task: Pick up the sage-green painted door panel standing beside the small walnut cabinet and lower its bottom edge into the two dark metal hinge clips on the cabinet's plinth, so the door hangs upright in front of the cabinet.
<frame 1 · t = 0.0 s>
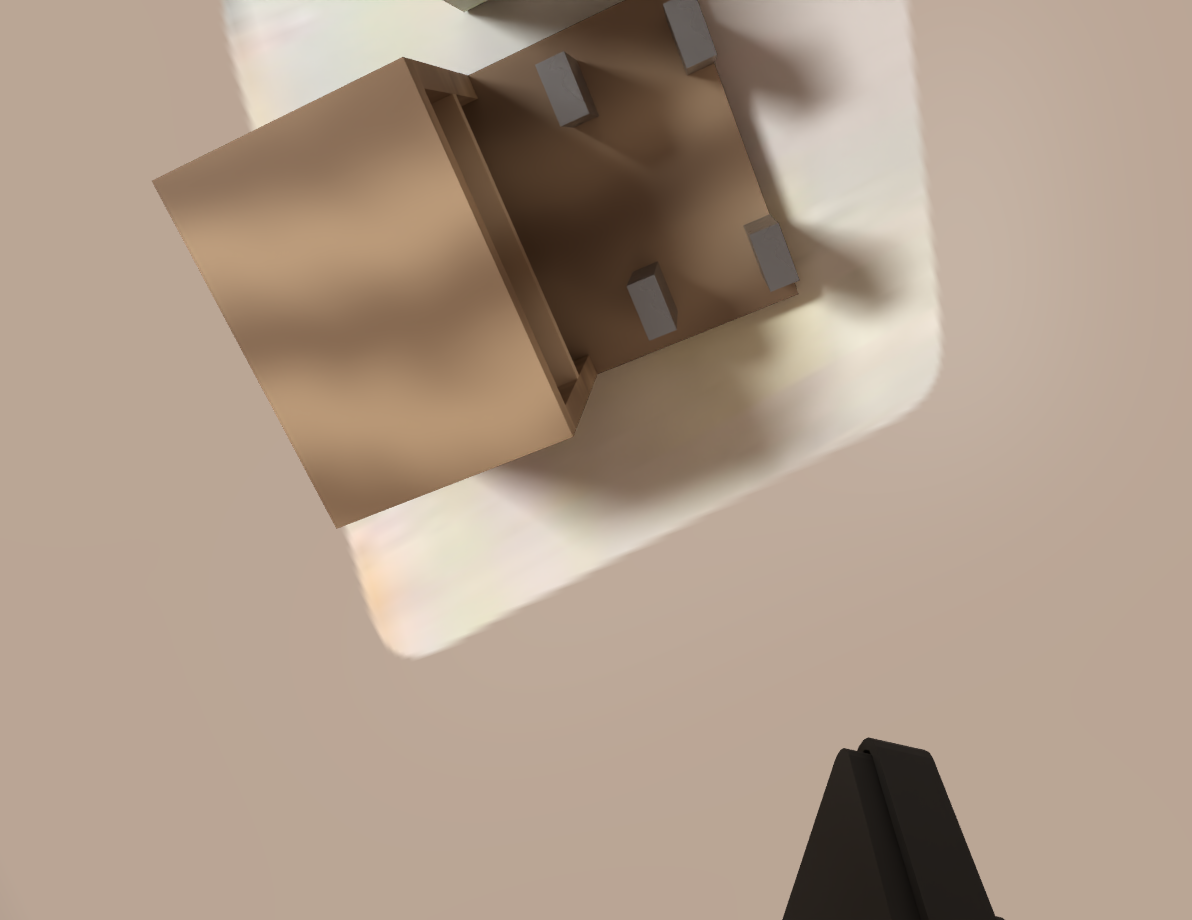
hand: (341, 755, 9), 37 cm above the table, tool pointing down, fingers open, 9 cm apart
cabinet: (538, 229, 44), on the table
hinge clips: (672, 170, 43), resting on cabinet
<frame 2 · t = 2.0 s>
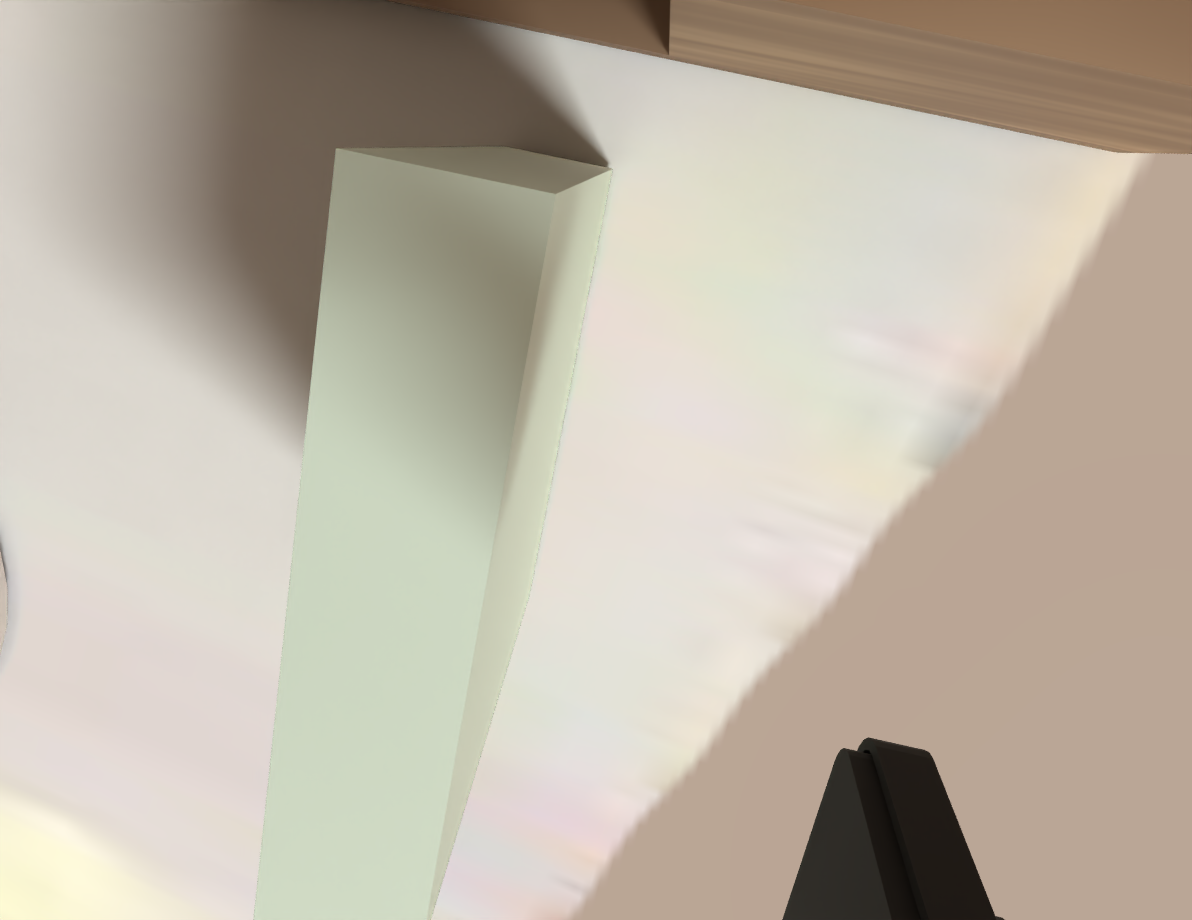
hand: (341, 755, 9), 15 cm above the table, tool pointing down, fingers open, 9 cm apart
door: (518, 387, 24), on the table
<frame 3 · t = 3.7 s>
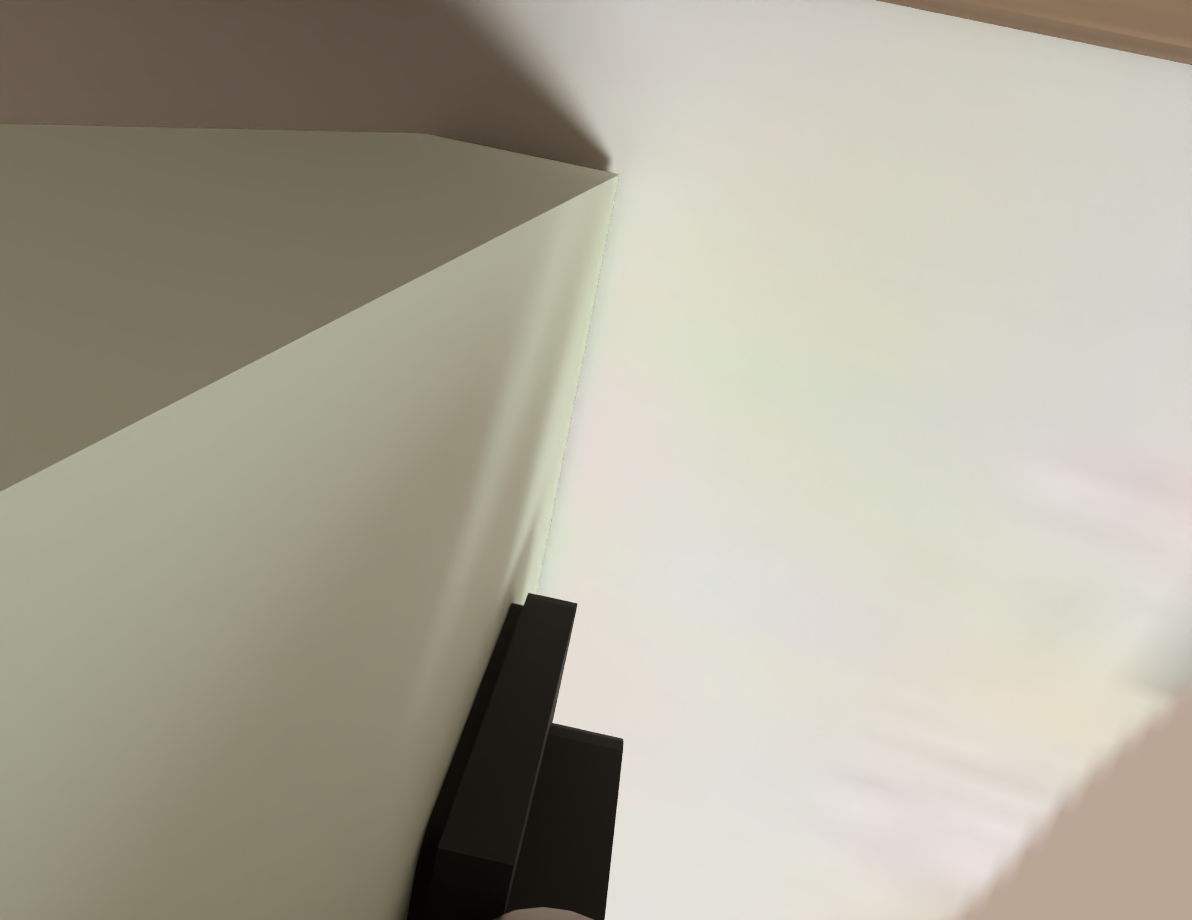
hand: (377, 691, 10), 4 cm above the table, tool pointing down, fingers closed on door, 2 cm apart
door: (456, 550, 14), on the table, touching gripper
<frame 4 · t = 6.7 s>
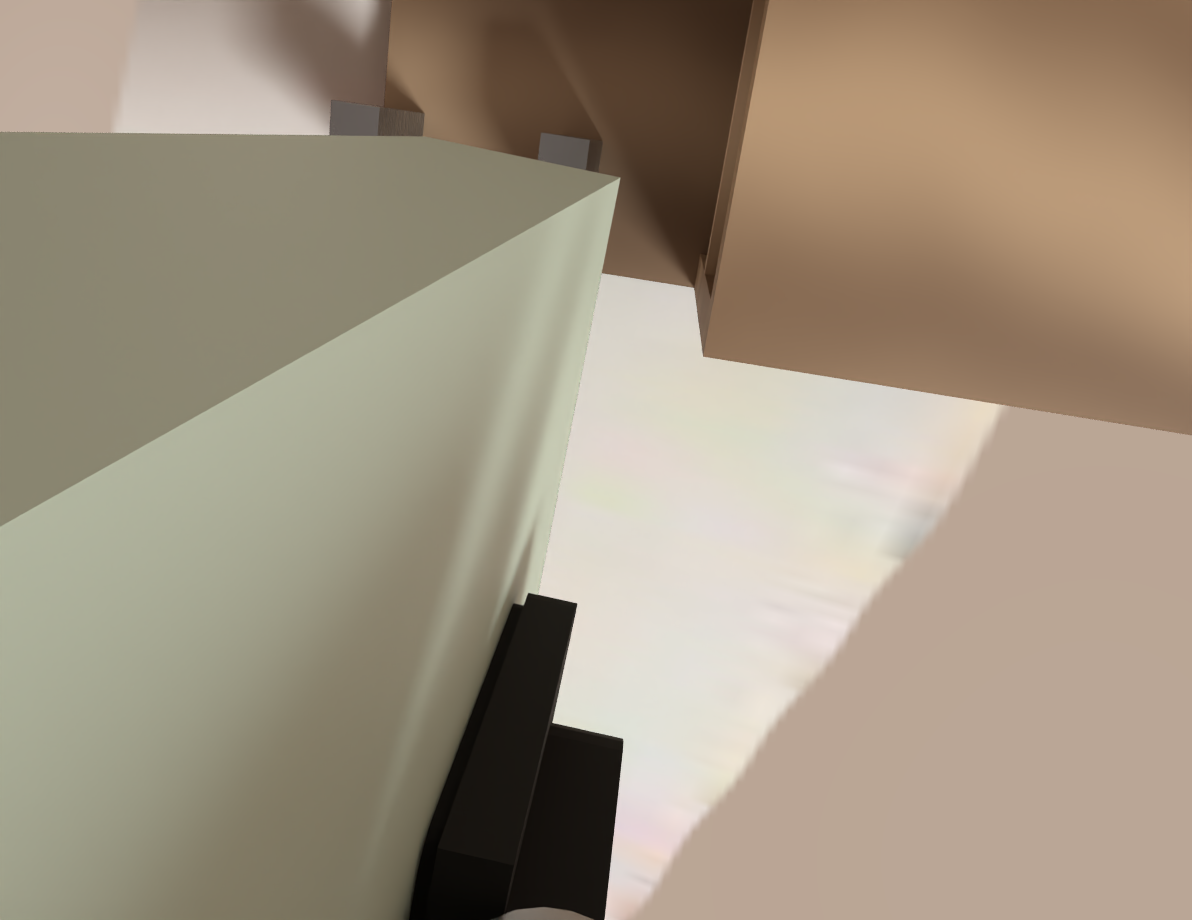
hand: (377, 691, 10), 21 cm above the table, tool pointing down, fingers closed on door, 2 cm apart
cabinet: (737, 38, 28), on the table
door: (457, 551, 14), point 18 cm above the table, touching gripper
hinge clips: (512, 4, 28), resting on cabinet
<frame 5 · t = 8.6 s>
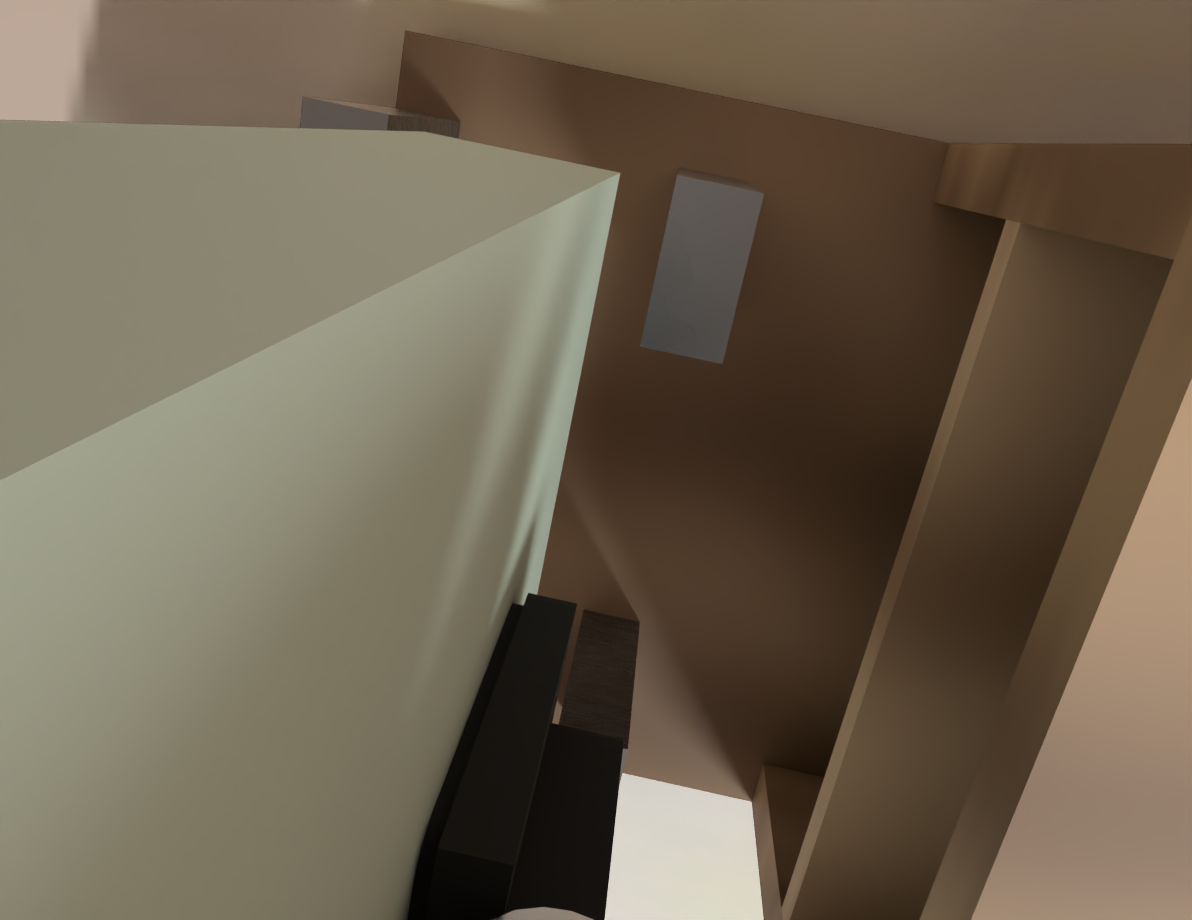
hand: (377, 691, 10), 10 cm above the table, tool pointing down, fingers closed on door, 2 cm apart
cabinet: (831, 493, 20), on the table
door: (457, 548, 14), point 7 cm above the table, touching gripper
hinge clips: (524, 427, 20), resting on cabinet
when the fingers open (5 cm above the table, at t = 10.0 s): door stays where it is, resting on cabinet.
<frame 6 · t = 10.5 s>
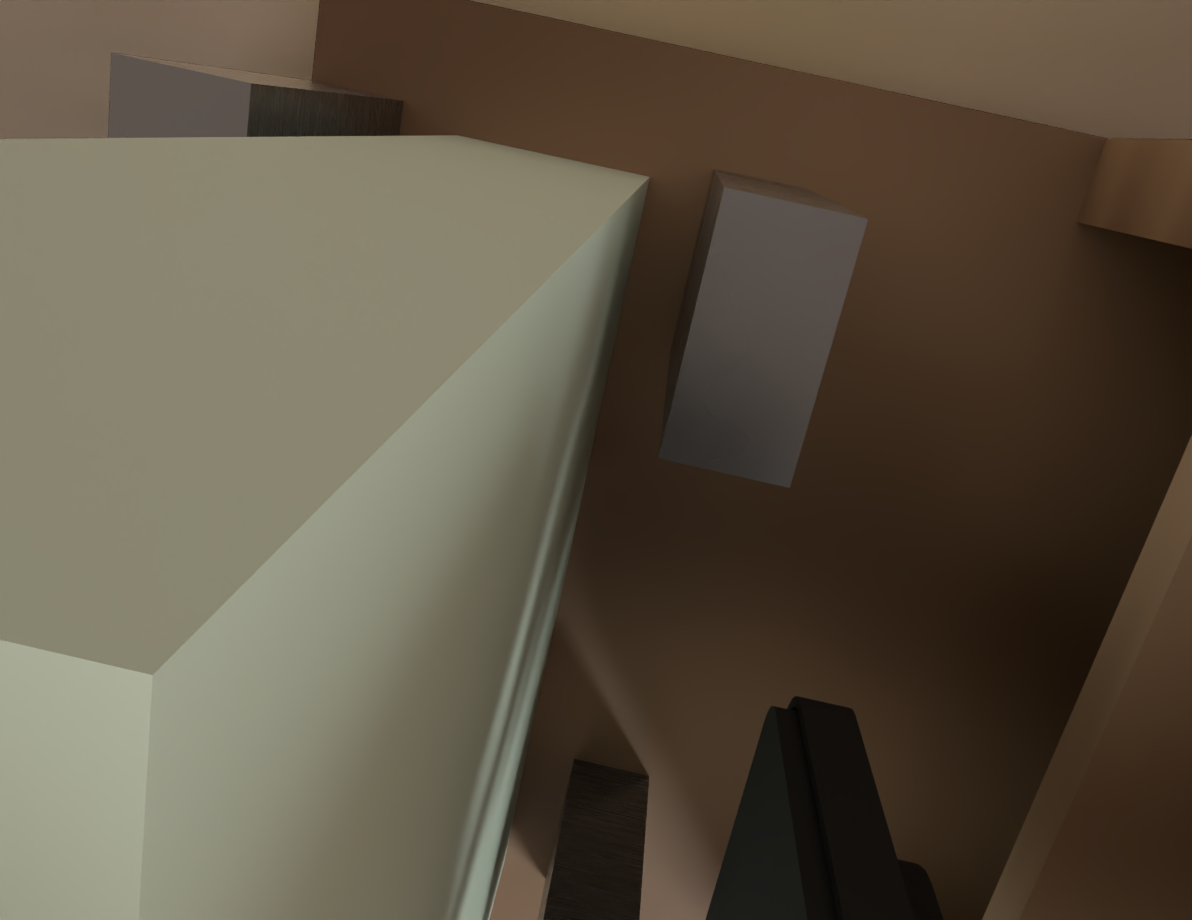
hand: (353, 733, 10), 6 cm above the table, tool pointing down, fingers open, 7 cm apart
cabinet: (909, 609, 15), on the table
door: (483, 544, 14), point 1 cm above the table, touching cabinet
hinge clips: (496, 514, 15), resting on cabinet
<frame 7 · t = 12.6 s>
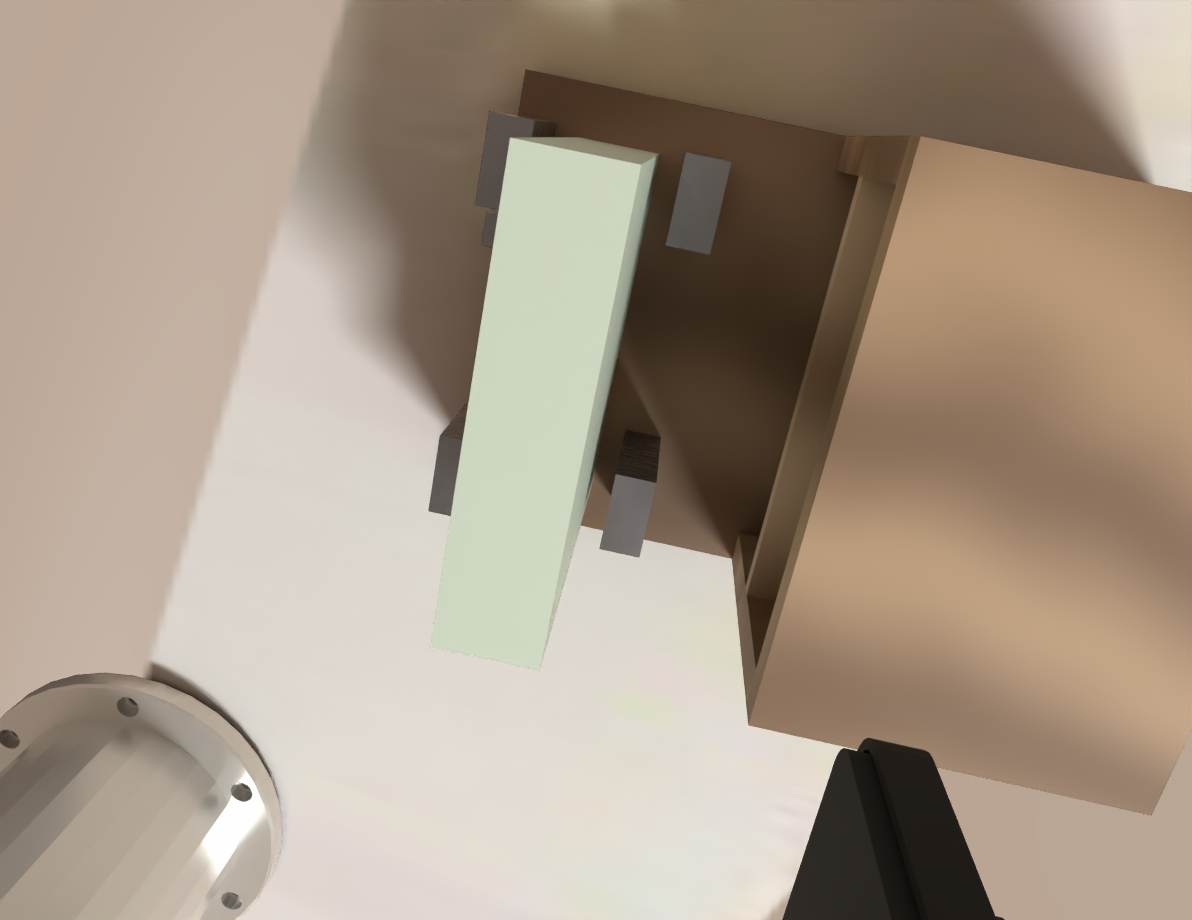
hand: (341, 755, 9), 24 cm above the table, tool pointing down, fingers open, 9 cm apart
cabinet: (781, 356, 32), on the table
door: (585, 322, 31), point 1 cm above the table, touching cabinet
hinge clips: (588, 314, 32), resting on cabinet
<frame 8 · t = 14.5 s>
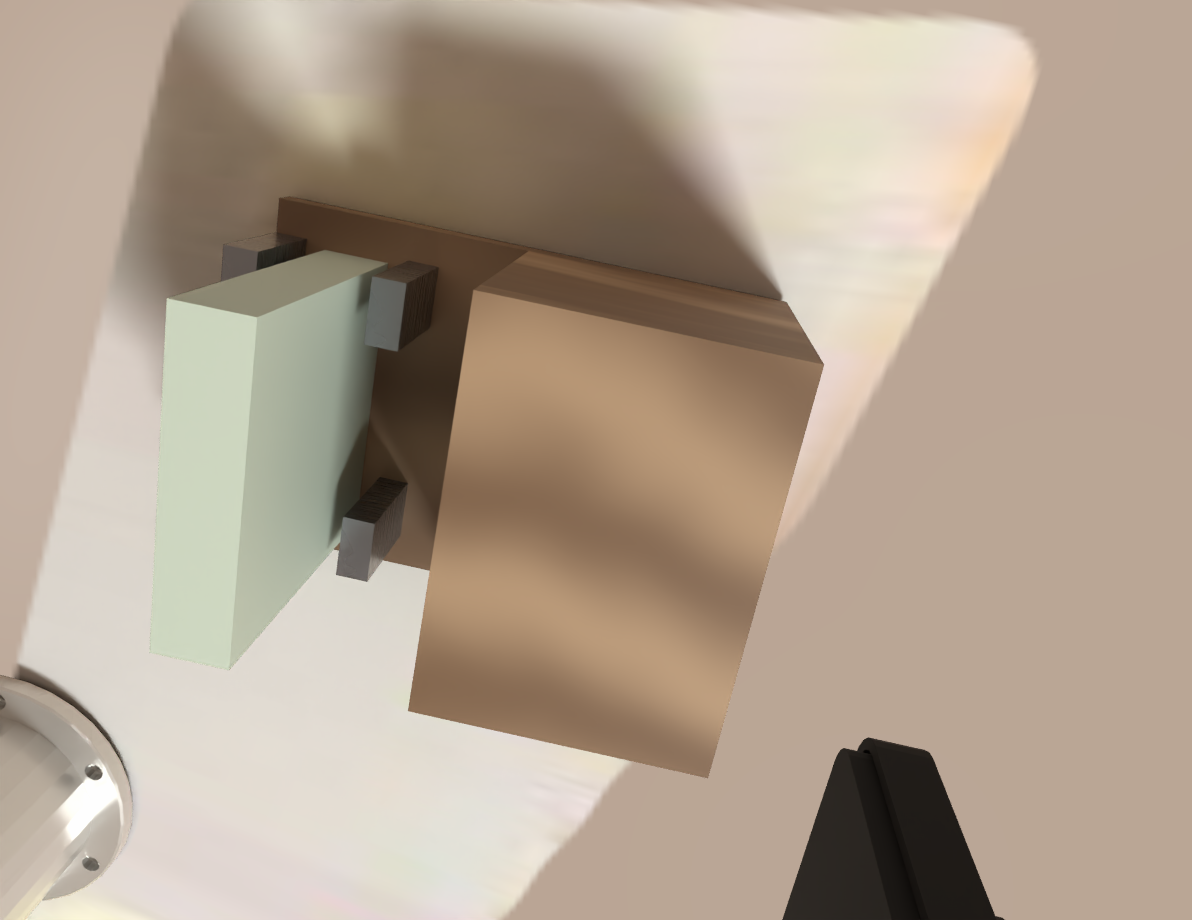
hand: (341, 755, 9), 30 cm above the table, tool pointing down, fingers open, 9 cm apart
cabinet: (503, 418, 40), on the table
door: (341, 392, 39), point 1 cm above the table, touching cabinet
hinge clips: (349, 384, 40), resting on cabinet
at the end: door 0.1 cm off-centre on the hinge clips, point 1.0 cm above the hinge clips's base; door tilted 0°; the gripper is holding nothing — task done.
